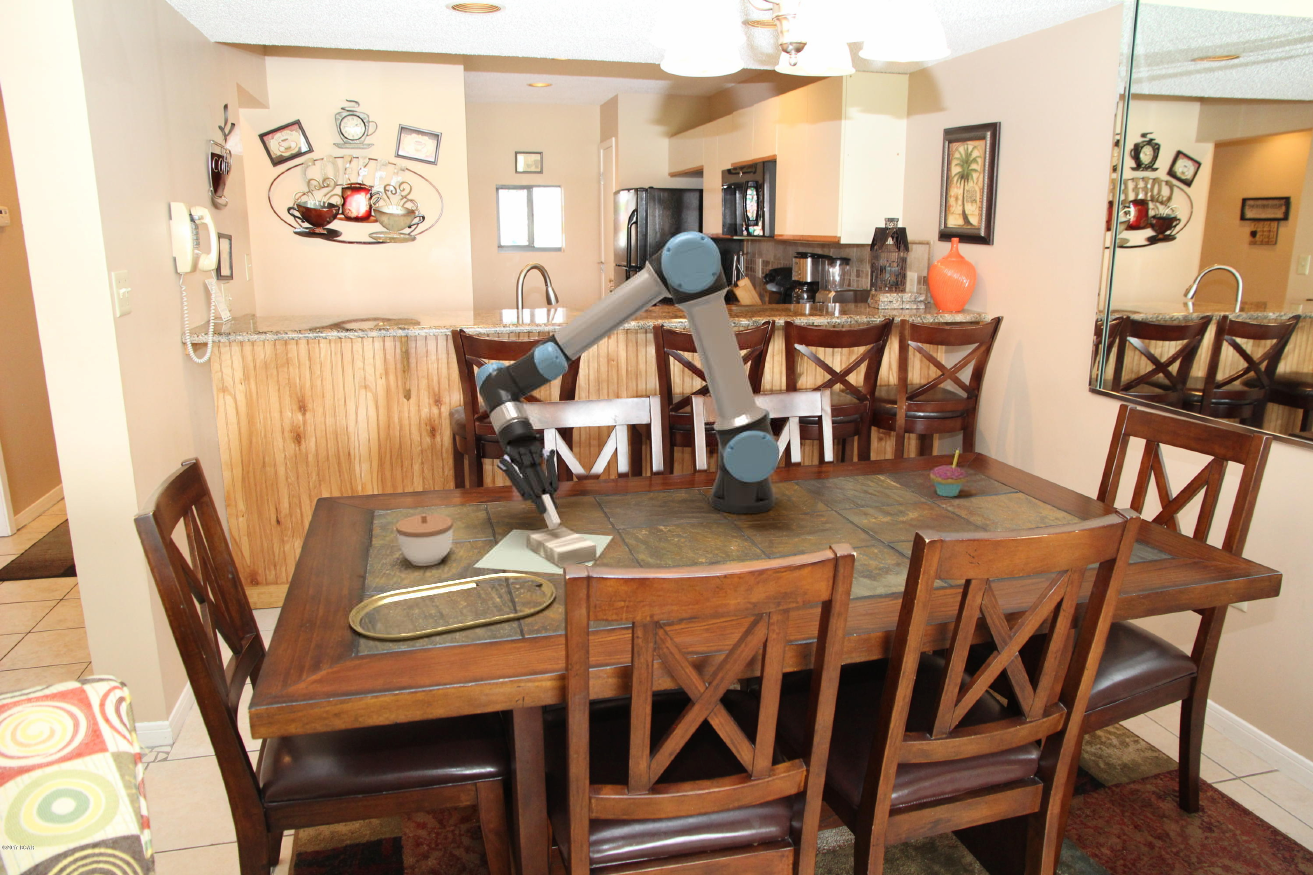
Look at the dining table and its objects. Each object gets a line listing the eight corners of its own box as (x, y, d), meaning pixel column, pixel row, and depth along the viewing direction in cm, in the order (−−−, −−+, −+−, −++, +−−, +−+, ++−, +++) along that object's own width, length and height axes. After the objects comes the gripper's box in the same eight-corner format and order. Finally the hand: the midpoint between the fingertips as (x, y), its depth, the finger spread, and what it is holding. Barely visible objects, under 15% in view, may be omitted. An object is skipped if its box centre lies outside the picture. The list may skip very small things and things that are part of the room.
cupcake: (969, 492, 220) (973, 445, 217) (960, 501, 213) (964, 452, 210) (934, 487, 224) (937, 440, 221) (924, 495, 217) (927, 447, 214)
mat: (613, 538, 188) (613, 536, 188) (583, 578, 167) (583, 575, 167) (513, 532, 192) (513, 529, 192) (473, 569, 171) (473, 566, 171)
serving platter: (570, 612, 153) (570, 603, 153) (357, 653, 139) (356, 644, 139) (536, 574, 170) (536, 567, 170) (343, 608, 155) (342, 599, 155)
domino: (525, 532, 181) (560, 552, 169) (560, 525, 185) (596, 544, 174) (526, 547, 181) (560, 568, 170) (561, 539, 186) (596, 559, 175)
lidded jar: (405, 574, 169) (401, 527, 167) (393, 556, 179) (390, 511, 176) (461, 564, 174) (458, 518, 172) (446, 547, 183) (444, 503, 181)
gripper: (536, 434, 194) (577, 528, 184) (480, 443, 186) (519, 541, 177) (547, 414, 188) (589, 510, 179) (490, 422, 181) (531, 522, 172)
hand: (555, 525), depth 178 cm, fingers closed
